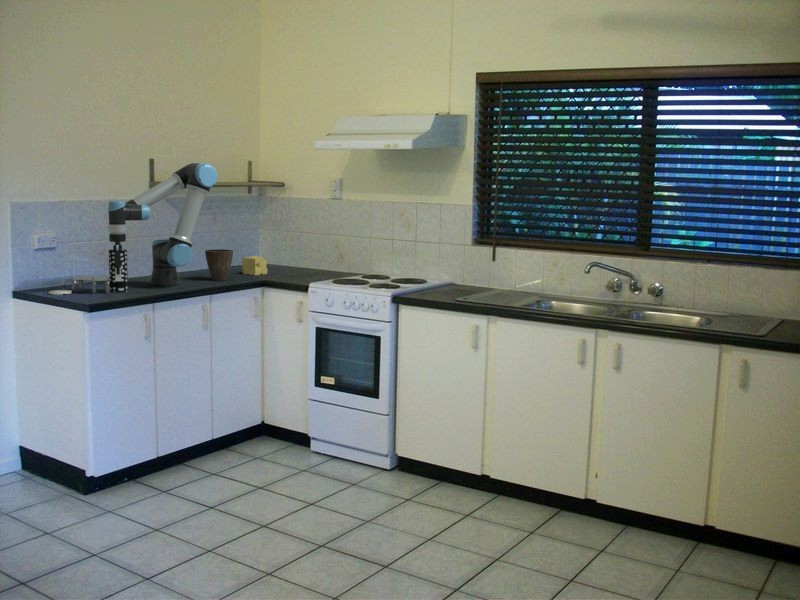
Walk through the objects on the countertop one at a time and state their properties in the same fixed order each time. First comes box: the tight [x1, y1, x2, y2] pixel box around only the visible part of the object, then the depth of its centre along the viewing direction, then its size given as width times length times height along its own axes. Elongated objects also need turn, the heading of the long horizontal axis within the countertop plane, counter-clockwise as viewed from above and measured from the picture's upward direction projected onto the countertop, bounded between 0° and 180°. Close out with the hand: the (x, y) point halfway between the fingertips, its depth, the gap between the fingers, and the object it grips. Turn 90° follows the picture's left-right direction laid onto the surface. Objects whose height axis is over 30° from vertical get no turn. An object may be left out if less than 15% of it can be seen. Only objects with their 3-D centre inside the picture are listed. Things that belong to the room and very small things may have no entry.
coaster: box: [48, 289, 72, 296], centre depth 390 cm, size 10×10×1 cm
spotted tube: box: [108, 248, 129, 293], centre depth 399 cm, size 8×8×20 cm
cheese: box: [241, 255, 268, 276], centre depth 479 cm, size 10×11×10 cm
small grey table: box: [71, 275, 111, 294], centre depth 393 cm, size 17×6×8 cm, turn 107°
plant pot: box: [204, 248, 234, 282], centre depth 450 cm, size 15×15×16 cm
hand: (118, 279), depth 400 cm, fingers open, 10 cm apart
